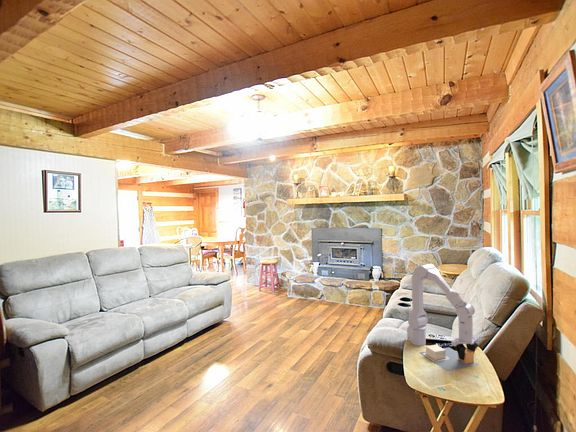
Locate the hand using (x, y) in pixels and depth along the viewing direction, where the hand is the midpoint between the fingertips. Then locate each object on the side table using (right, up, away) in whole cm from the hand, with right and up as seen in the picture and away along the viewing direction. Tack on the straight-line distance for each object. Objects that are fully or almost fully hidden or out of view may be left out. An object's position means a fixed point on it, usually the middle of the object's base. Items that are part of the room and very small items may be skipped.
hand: (465, 358), depth 143 cm
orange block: (0, -1, 0) cm, 1 cm away
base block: (-12, -1, +5) cm, 13 cm away
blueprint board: (-7, -2, +3) cm, 8 cm away
